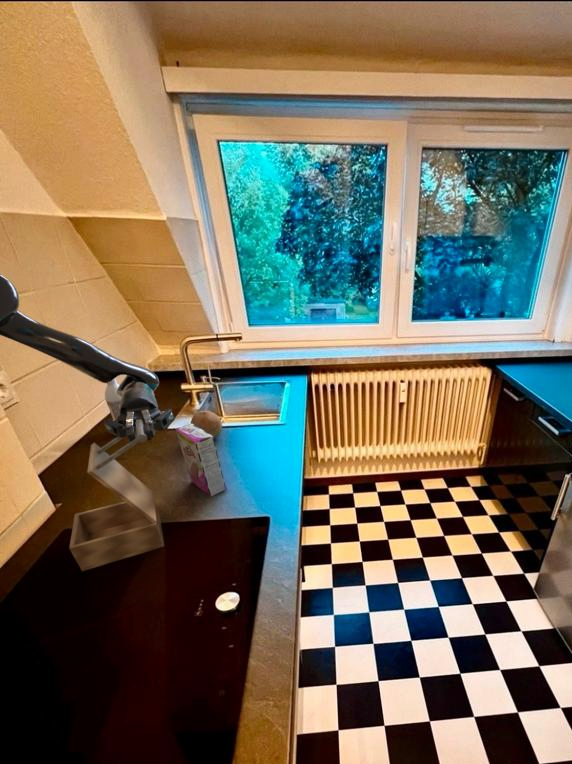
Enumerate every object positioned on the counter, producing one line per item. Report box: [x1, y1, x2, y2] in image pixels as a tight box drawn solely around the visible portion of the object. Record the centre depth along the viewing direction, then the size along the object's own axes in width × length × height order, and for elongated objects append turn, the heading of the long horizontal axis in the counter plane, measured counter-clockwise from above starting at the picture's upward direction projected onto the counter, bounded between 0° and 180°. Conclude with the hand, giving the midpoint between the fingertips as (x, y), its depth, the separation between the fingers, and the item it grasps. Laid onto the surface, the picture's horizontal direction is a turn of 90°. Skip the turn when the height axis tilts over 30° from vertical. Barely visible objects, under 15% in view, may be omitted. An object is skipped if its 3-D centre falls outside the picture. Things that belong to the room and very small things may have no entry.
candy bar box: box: [174, 423, 227, 498], centre depth 101 cm, size 11×5×16 cm, turn 47°
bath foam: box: [104, 378, 121, 420], centre depth 131 cm, size 7×7×20 cm
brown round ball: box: [190, 410, 223, 440], centre depth 127 cm, size 10×10×10 cm
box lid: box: [86, 419, 156, 524], centre depth 81 cm, size 16×13×12 cm
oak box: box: [68, 500, 165, 572], centre depth 85 cm, size 16×13×6 cm
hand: (141, 436), depth 75 cm, fingers closed
